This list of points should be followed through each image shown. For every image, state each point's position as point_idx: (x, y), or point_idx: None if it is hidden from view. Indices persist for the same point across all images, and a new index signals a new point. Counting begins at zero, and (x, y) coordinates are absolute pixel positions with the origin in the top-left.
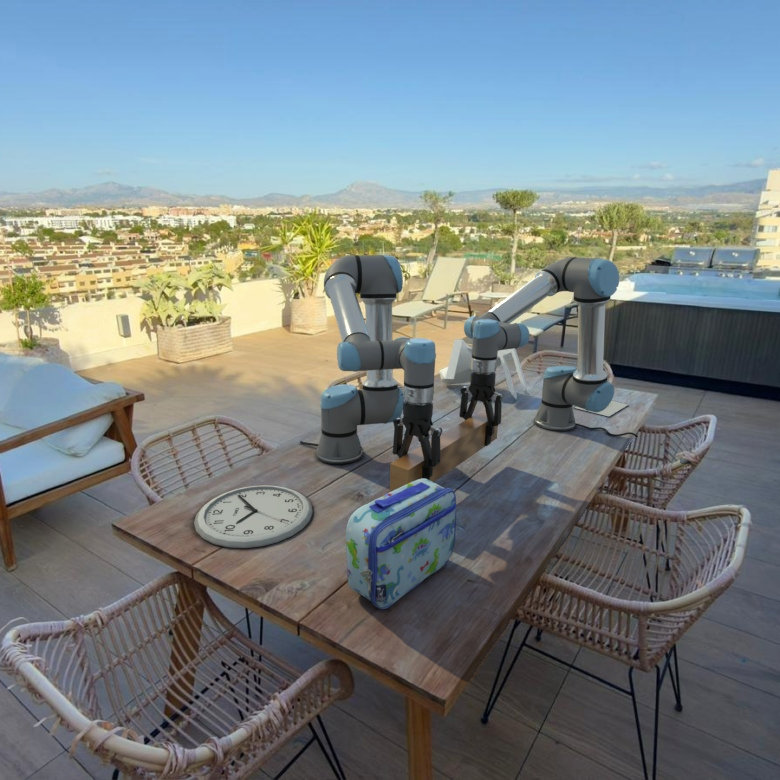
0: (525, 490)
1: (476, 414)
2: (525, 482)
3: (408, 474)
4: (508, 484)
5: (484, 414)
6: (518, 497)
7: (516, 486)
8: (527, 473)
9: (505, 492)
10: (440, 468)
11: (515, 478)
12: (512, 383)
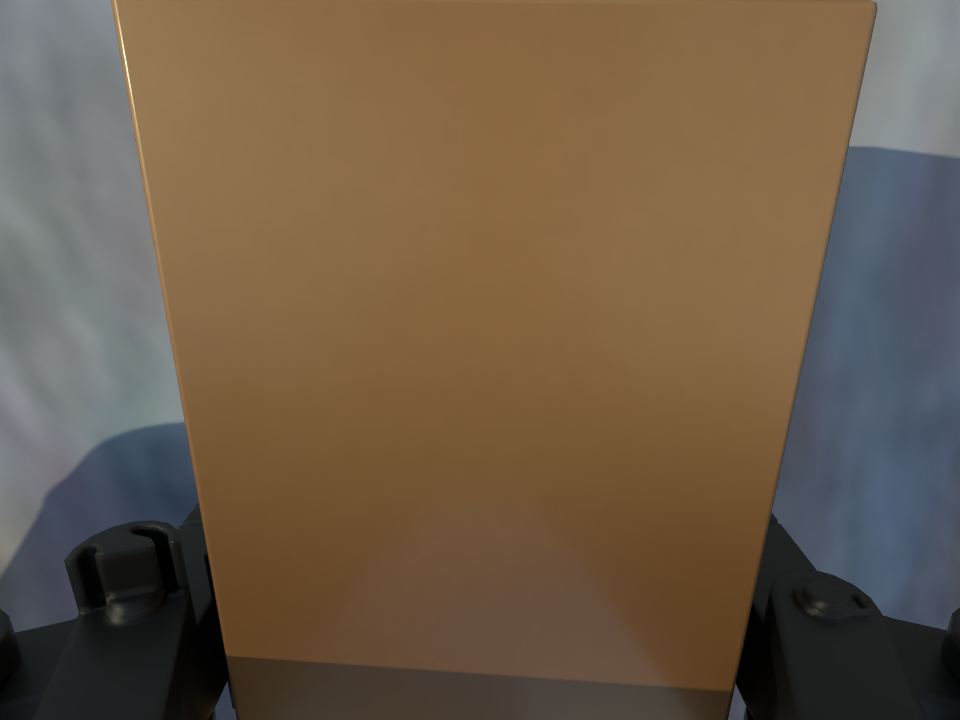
0: (945, 452)
1: (233, 551)
2: (925, 338)
3: None
4: (810, 443)
5: (426, 408)
6: (915, 559)
7: (872, 436)
8: (915, 166)
9: (820, 550)
10: None
11: (836, 322)
12: None
